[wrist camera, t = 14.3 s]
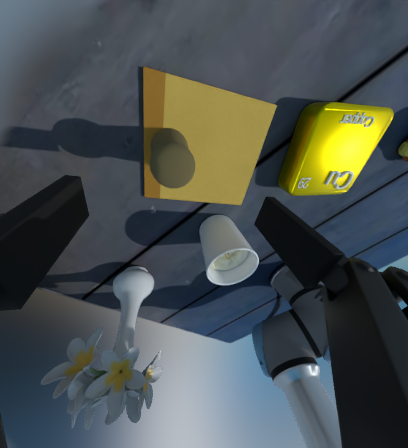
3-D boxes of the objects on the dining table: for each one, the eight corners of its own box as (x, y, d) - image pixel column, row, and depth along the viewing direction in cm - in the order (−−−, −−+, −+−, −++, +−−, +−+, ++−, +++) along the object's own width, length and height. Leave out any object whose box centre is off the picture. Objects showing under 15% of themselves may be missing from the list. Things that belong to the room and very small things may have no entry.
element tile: (373, 108, 29) (404, 108, 26) (331, 186, 38) (349, 195, 34) (302, 101, 26) (326, 100, 23) (274, 188, 35) (287, 197, 31)
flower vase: (125, 239, 35) (74, 412, 15) (175, 277, 46) (183, 407, 26) (80, 266, 37) (-17, 452, 17) (138, 297, 48) (120, 432, 28)
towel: (240, 204, 36) (241, 205, 35) (144, 195, 30) (144, 197, 30) (275, 105, 26) (277, 105, 25) (143, 66, 20) (142, 66, 20)
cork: (196, 150, 27) (212, 170, 18) (171, 175, 29) (175, 205, 20) (168, 117, 24) (172, 124, 15) (142, 148, 25) (131, 170, 16)
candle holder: (202, 249, 41) (214, 291, 32) (189, 220, 36) (199, 261, 26) (238, 236, 41) (261, 274, 32) (231, 204, 35) (256, 240, 26)
